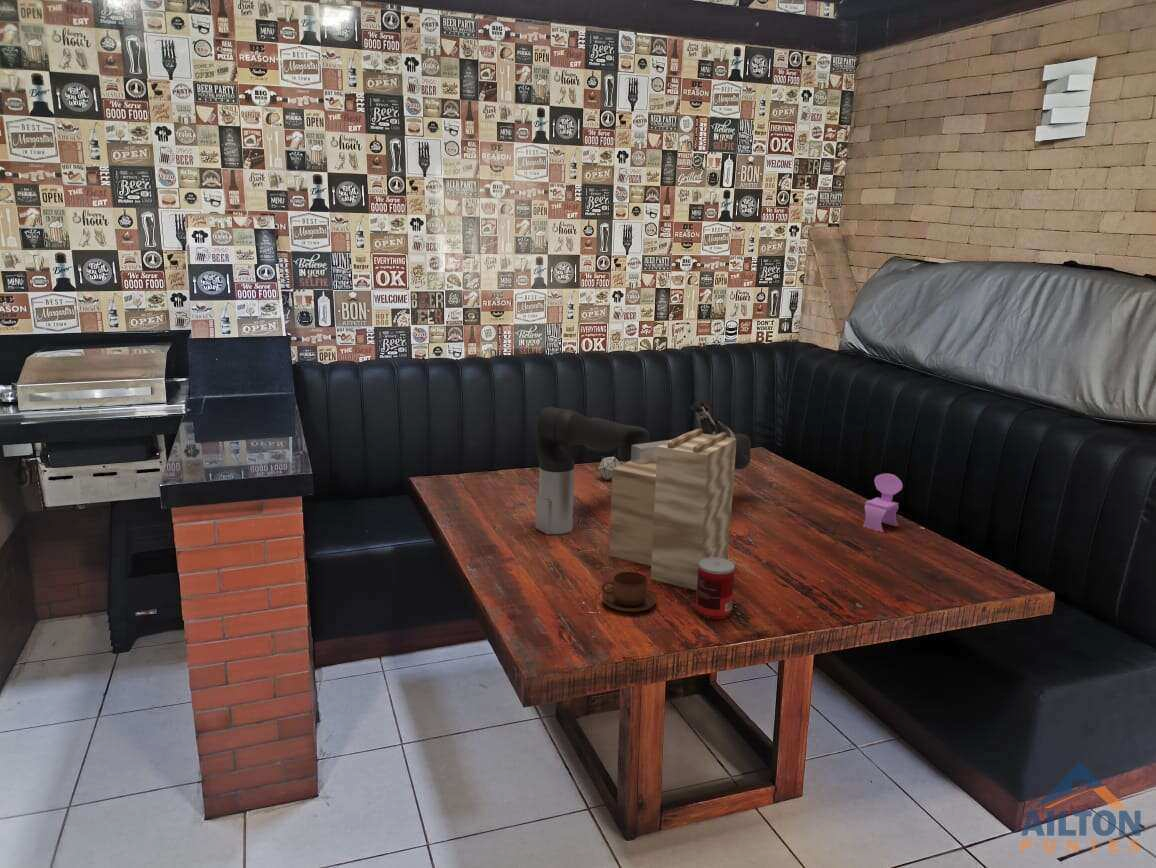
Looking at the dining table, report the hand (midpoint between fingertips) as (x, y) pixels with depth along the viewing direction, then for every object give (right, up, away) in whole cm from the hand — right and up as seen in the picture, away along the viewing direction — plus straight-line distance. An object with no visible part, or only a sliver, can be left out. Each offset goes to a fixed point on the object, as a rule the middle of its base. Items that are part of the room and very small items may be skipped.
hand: (695, 420), depth 227 cm
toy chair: (+53, -30, +10) cm, 62 cm away
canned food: (-3, -42, -45) cm, 62 cm away
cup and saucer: (-20, -41, -42) cm, 62 cm away
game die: (-21, -19, +48) cm, 56 cm away
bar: (-7, -9, -8) cm, 14 cm away
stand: (-8, -34, -16) cm, 39 cm away
